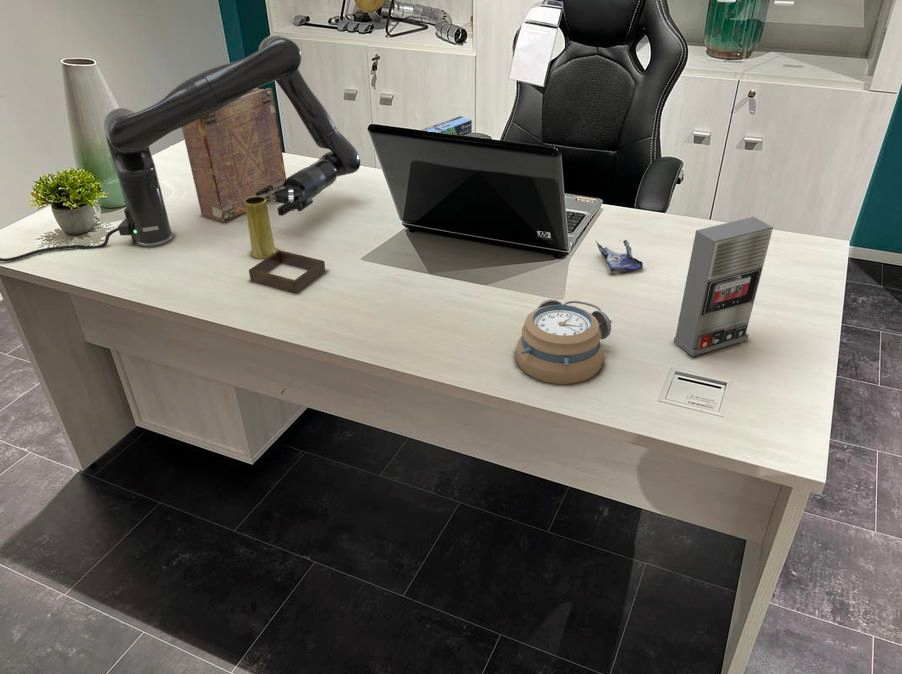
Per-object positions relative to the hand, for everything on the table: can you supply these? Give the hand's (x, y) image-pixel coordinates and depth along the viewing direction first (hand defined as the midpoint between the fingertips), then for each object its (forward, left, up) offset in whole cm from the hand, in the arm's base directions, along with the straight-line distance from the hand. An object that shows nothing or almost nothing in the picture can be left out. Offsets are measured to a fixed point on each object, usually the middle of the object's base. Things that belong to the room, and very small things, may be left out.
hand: (265, 209), depth 188 cm
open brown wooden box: (+7, -14, -11) cm, 19 cm away
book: (-14, +29, -11) cm, 34 cm away
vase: (-2, -2, -11) cm, 11 cm away
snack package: (+86, -7, -11) cm, 87 cm away
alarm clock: (+70, -45, -11) cm, 84 cm away
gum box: (+42, +26, -11) cm, 51 cm away
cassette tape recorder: (+100, -41, -11) cm, 109 cm away
